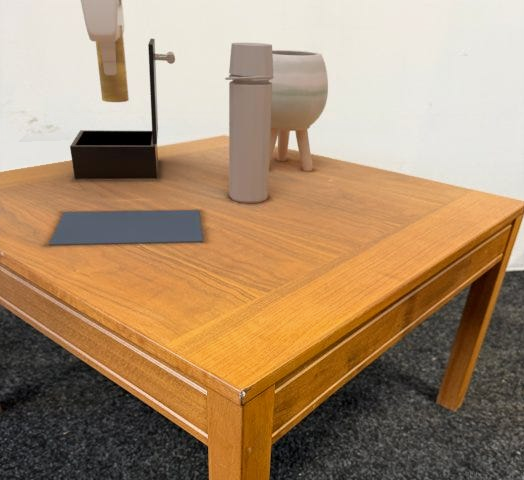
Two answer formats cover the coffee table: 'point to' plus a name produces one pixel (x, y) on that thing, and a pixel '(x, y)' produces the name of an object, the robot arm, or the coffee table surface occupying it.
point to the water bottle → (249, 121)
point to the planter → (296, 100)
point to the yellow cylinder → (114, 85)
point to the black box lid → (153, 91)
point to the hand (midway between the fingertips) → (112, 72)
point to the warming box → (114, 155)
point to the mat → (128, 227)
